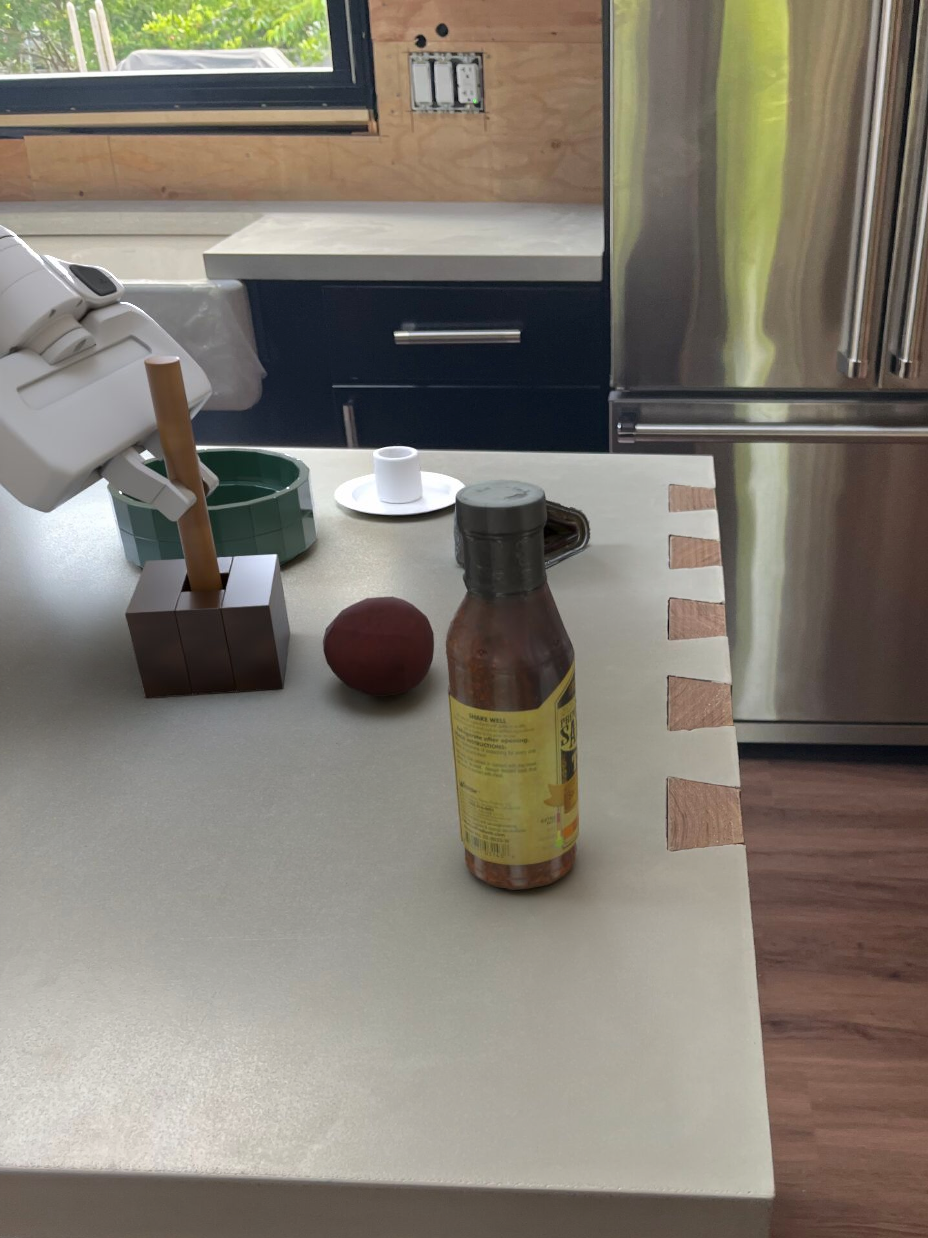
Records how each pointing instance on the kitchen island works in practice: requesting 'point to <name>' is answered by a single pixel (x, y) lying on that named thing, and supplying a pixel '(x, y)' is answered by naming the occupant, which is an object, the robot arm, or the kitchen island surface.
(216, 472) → the bowl
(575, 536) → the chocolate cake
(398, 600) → the potato
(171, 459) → the stirring stick
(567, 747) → the sauce bottle
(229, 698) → the kitchen island surface
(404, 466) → the candle holder
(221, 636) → the stick holder
